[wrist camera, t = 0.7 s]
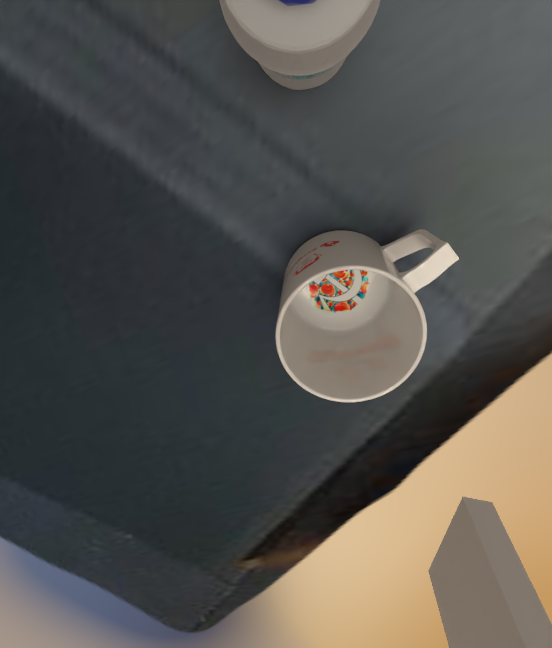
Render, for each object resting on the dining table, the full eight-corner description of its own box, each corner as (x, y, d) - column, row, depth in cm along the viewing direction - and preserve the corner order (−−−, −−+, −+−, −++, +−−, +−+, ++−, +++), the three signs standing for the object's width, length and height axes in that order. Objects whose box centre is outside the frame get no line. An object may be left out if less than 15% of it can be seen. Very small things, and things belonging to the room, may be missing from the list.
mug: (329, 351, 40) (337, 427, 30) (261, 274, 38) (244, 328, 27) (449, 264, 36) (505, 316, 26) (382, 174, 34) (415, 193, 24)
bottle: (340, 103, 33) (386, 69, 14) (246, 86, 32) (168, 30, 14) (362, -11, 30) (454, -235, 12) (260, -29, 30) (187, -284, 11)
